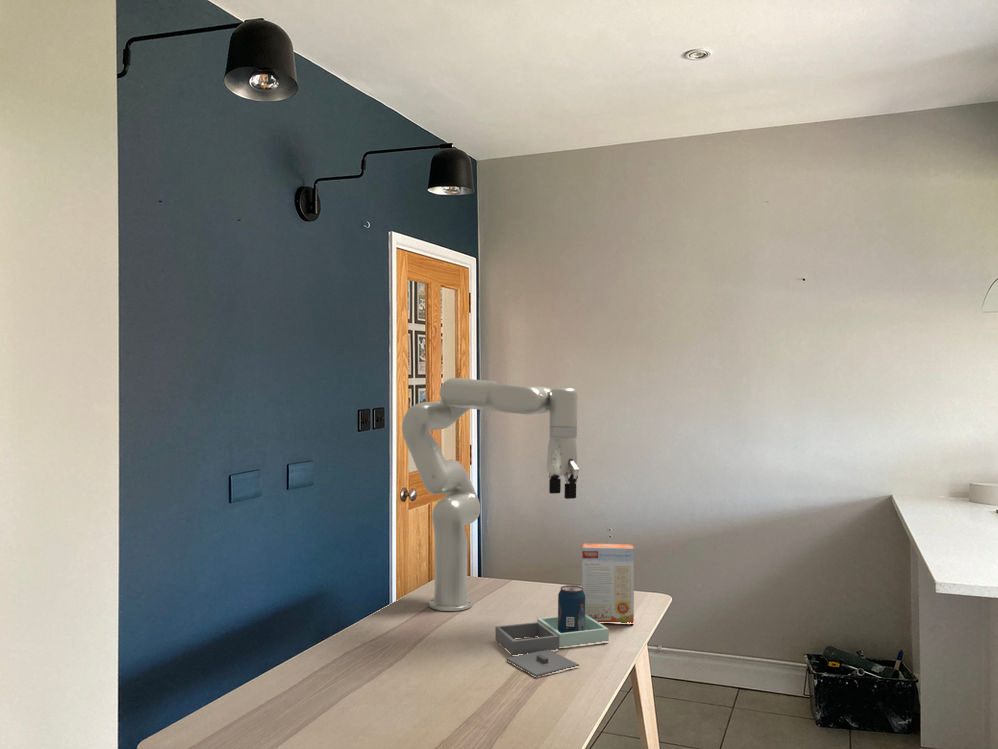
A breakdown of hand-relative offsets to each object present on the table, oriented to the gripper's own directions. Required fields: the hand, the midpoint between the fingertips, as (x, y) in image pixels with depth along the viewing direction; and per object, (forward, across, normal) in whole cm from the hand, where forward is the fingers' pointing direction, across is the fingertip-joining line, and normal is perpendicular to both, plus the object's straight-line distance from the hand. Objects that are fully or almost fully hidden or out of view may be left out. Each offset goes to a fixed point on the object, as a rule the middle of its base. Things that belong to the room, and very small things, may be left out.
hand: (562, 495), depth 215 cm
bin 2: (+34, +13, -3) cm, 37 cm away
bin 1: (+34, +15, -16) cm, 41 cm away
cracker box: (+34, +4, +12) cm, 37 cm away
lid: (+34, +28, -18) cm, 48 cm away
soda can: (+34, +13, -3) cm, 36 cm away
